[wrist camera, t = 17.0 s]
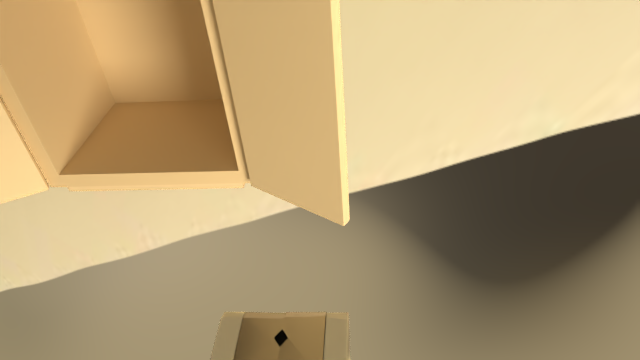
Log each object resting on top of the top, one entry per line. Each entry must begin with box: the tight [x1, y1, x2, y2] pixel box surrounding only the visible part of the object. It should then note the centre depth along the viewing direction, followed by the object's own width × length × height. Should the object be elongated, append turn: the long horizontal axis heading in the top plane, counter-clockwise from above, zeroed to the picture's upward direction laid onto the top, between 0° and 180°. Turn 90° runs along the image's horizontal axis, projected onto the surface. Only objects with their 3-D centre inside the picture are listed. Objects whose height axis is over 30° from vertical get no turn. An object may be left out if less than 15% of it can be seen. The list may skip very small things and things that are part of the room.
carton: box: [0, 0, 251, 191], centre depth 30 cm, size 14×19×10 cm
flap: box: [212, 0, 350, 226], centre depth 23 cm, size 1×18×7 cm
